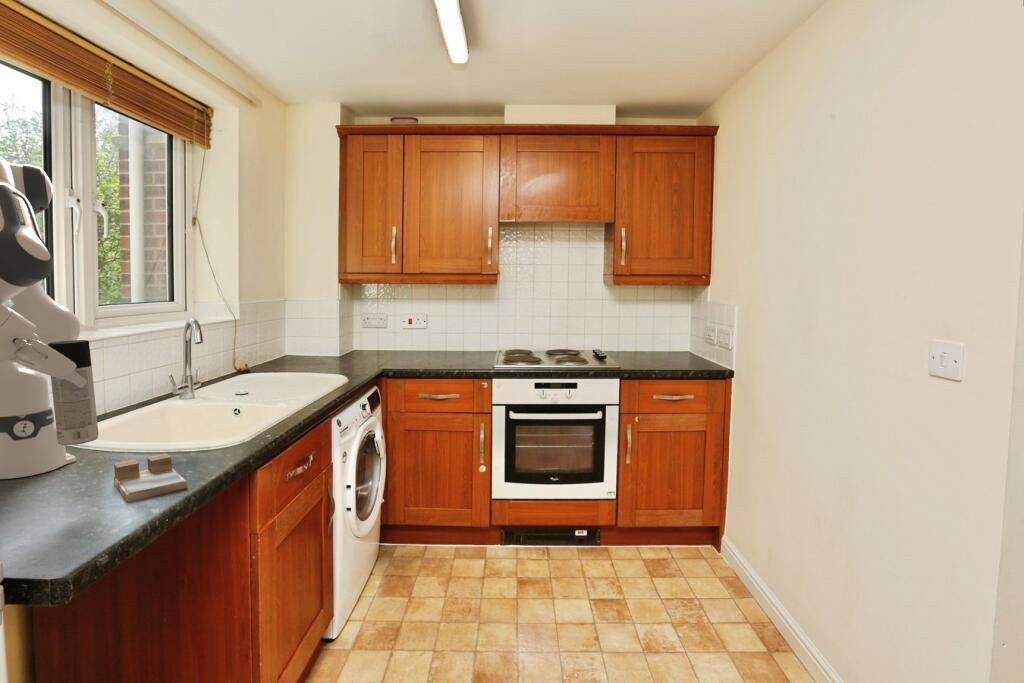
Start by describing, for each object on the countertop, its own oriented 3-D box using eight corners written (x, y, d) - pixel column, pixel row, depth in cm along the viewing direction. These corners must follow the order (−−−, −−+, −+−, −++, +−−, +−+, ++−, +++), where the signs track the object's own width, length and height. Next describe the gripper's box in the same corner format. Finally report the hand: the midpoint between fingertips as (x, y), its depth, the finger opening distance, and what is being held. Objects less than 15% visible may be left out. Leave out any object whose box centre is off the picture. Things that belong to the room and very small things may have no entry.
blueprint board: (114, 483, 131) (112, 463, 131) (169, 471, 139) (168, 452, 138) (127, 501, 120) (125, 480, 120) (187, 487, 128) (185, 467, 127)
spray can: (106, 436, 121) (97, 339, 119) (84, 445, 115) (73, 342, 112) (73, 437, 121) (63, 340, 119) (48, 446, 114) (37, 343, 112)
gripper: (38, 328, 103) (108, 375, 112) (6, 321, 116) (71, 364, 125) (8, 356, 100) (82, 402, 109) (-21, 346, 113) (47, 388, 122)
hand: (76, 382), depth 117 cm, fingers closed on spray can, 7 cm apart
